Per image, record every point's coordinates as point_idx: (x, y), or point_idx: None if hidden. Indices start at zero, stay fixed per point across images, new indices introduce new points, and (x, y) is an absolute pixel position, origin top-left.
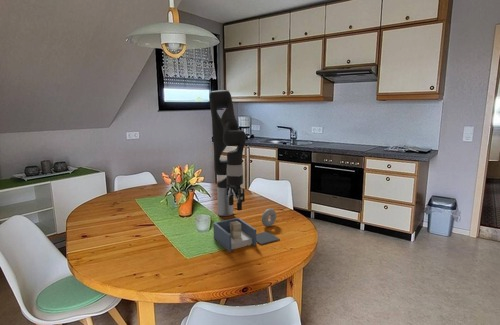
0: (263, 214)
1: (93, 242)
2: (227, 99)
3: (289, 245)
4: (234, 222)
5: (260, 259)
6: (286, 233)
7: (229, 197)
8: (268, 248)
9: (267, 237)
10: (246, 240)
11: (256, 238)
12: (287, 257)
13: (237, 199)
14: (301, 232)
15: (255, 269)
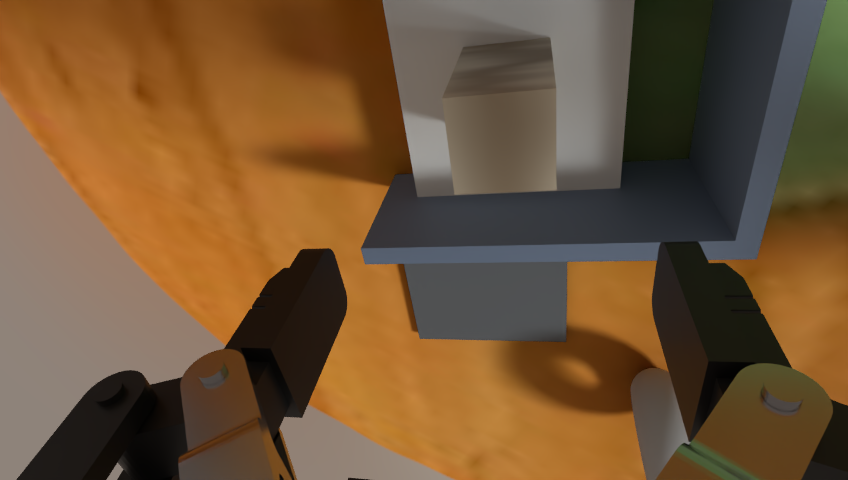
0: (670, 442)
1: None
2: None
3: (339, 336)
4: (524, 141)
5: (198, 125)
6: (492, 398)
7: (754, 382)
8: (334, 233)
9: (471, 297)
10: (409, 144)
11: None
12: (206, 263)
13: (185, 415)
14: (468, 447)
15: (71, 38)
